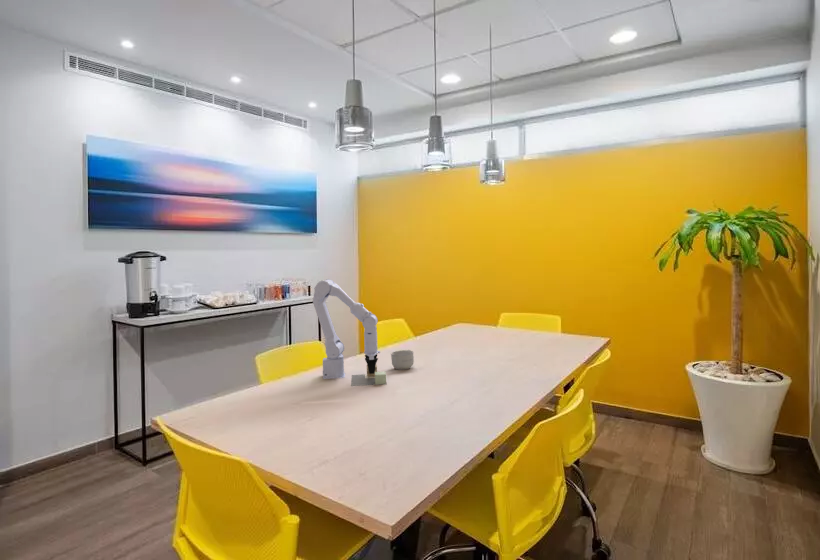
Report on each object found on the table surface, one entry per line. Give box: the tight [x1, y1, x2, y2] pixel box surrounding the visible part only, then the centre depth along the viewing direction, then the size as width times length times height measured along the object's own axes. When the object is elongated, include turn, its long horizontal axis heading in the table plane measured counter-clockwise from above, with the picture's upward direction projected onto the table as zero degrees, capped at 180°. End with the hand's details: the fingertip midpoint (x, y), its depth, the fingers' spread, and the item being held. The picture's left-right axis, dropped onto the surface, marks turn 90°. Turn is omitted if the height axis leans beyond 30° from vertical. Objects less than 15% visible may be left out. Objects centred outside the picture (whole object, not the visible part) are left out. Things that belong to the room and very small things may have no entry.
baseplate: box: [350, 373, 388, 387], centre depth 207 cm, size 15×17×1 cm
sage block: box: [375, 371, 387, 385], centre depth 202 cm, size 4×4×4 cm
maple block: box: [366, 363, 378, 376], centre depth 212 cm, size 4×4×4 cm
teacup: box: [390, 349, 415, 371], centre depth 227 cm, size 14×11×8 cm
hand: (371, 371), depth 212 cm, fingers open, 4 cm apart
